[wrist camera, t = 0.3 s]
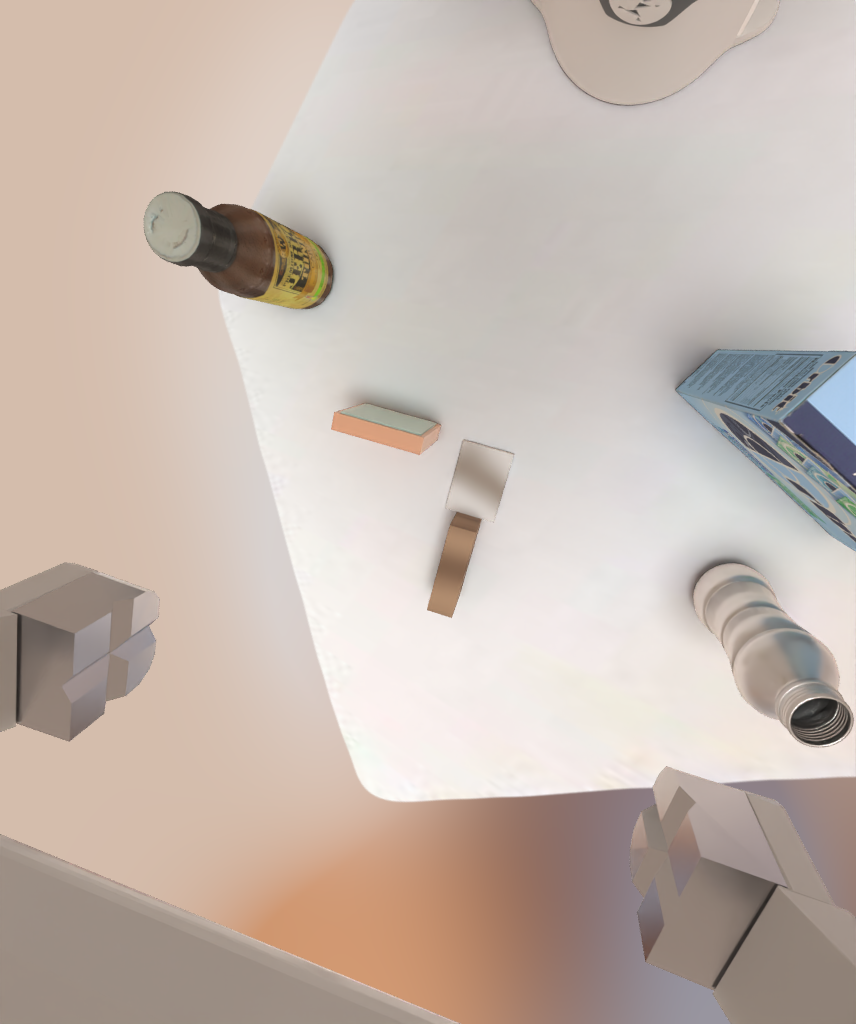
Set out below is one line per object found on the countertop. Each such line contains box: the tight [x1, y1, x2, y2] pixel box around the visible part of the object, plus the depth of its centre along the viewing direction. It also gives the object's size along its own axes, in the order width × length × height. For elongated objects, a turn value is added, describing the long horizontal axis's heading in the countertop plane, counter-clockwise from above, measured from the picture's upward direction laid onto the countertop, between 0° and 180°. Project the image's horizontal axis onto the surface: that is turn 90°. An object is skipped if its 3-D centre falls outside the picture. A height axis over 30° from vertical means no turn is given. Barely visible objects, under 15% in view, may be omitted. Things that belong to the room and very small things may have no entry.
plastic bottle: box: [693, 563, 854, 747], centre depth 44 cm, size 6×7×20 cm
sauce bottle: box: [144, 192, 333, 309], centre depth 44 cm, size 6×6×20 cm
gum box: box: [676, 349, 856, 551], centre depth 38 cm, size 20×5×23 cm, turn 49°
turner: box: [427, 440, 514, 618], centre depth 54 cm, size 16×5×5 cm, turn 166°
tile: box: [331, 403, 441, 455], centre depth 51 cm, size 8×2×8 cm, turn 76°
